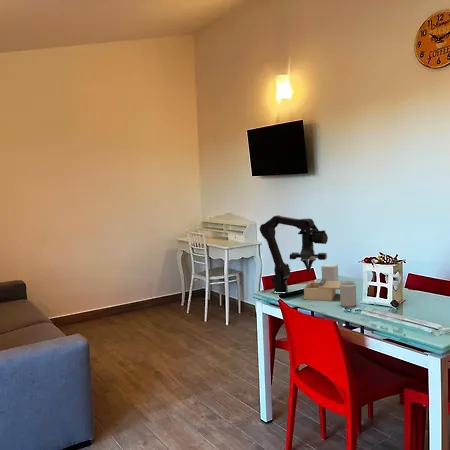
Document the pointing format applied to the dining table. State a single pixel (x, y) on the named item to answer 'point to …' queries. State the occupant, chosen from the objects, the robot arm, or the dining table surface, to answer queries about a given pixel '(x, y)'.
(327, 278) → the supplement box
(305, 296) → the mailer box
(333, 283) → the lid
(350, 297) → the can
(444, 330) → the dining table surface
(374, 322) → the dining table surface
